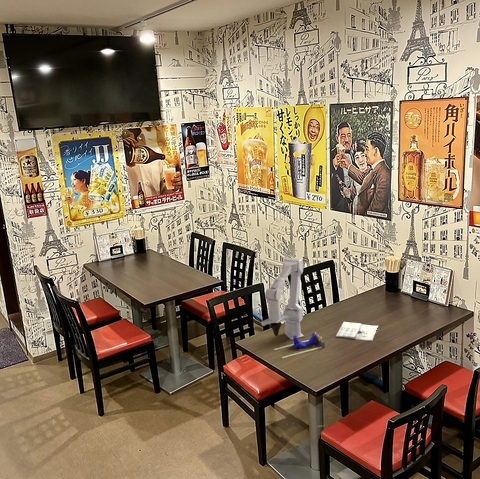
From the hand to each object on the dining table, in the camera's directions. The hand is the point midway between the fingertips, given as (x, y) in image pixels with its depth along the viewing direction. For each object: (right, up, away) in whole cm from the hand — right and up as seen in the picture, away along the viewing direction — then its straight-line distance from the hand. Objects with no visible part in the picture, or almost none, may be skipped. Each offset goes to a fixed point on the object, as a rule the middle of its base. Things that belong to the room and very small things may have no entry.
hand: (276, 335), depth 257 cm
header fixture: (+12, -8, +3) cm, 15 cm away
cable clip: (+16, -7, +5) cm, 19 cm away
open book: (+46, -2, +16) cm, 49 cm away
